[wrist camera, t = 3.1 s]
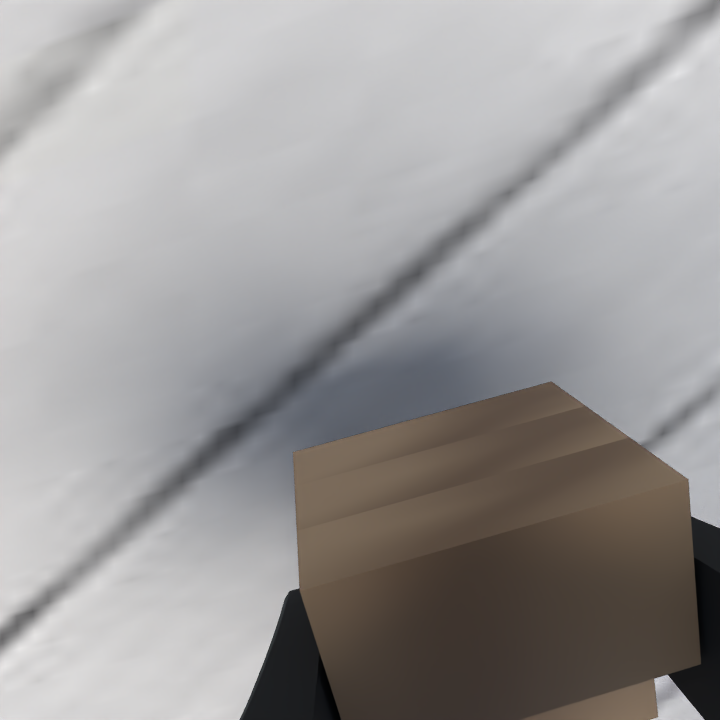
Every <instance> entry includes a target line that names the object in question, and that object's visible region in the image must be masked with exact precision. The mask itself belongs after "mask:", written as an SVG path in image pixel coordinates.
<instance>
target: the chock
mask: <svg viewBox="0 0 720 720" xmlns="http://www.w3.org/2000/svg"><path fill="white" fill-rule="evenodd" d="M293 463H294V483H295V504H296V524H297V545H298V565H299V586H300V593H301V596H302V600H303V603H304V606H305V609H306V612H307V615H308V618H309V621H310V624H311V627H312V631H313V634H314V637H315V640H316V643H317V646H318V649H319V652H320V655H321V659H322V662H323V665H324V668H325V671H326V674H327V677H328V680H329V683H330V687H331V690H332V693H333V696H334V699H335V702H336V705H337V708H338V711H339V714H340V718H341V720H650V719H653V718H657V717H658V712H657V702H656V693H655V683H654V678H658V677H661V676H664V675H668V674H671V673H674V672H677V671H681V670H684V669H687V668H690V667H694V666H697V665H700V664H701V655H700V641H699V627H698V612H697V598H696V583H695V569H694V555H693V540H692V526H691V512H690V497H689V483H688V479H687V478H685V477H684V476H683V475H681V474H680V473H678V472H677V471H676V470H674V469H673V468H671V467H670V466H669V465H667V464H666V463H665V462H663V461H662V460H660V459H659V458H658V457H656V456H655V455H653V454H652V453H651V452H649V451H648V450H646V449H645V448H644V447H642V446H641V445H639V444H638V443H637V442H635V441H634V440H632V439H631V438H630V437H628V436H627V435H625V434H624V433H623V432H621V431H620V430H618V429H617V428H616V427H614V426H613V425H611V424H610V423H609V422H607V421H606V420H604V419H603V418H602V417H600V416H599V415H597V414H596V413H595V412H593V411H592V410H590V409H589V408H588V407H586V406H585V405H583V404H582V403H581V402H579V401H578V400H576V399H575V398H574V397H572V396H571V395H569V394H568V393H567V392H565V391H564V390H562V389H561V388H560V387H558V386H557V385H555V384H554V383H553V382H548V383H544V384H540V385H537V386H533V387H530V388H526V389H522V390H519V391H515V392H511V393H508V394H504V395H500V396H497V397H493V398H489V399H486V400H482V401H478V402H475V403H471V404H467V405H464V406H460V407H456V408H453V409H449V410H445V411H442V412H438V413H434V414H431V415H427V416H423V417H420V418H416V419H412V420H409V421H405V422H401V423H398V424H394V425H390V426H387V427H383V428H380V429H376V430H372V431H369V432H365V433H361V434H358V435H354V436H350V437H347V438H343V439H339V440H336V441H332V442H328V443H325V444H321V445H317V446H314V447H310V448H306V449H303V450H299V451H295V452H293Z"/></svg>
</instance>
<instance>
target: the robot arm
mask: <svg viewBox="0 0 720 720" xmlns="http://www.w3.org/2000/svg"><path fill="white" fill-rule="evenodd" d="M691 526H692V540H693V555H694V569H695V583H696V598H697V612H698V627H699V641H700V655H701V664H700V665H697V666H694V667H690V668H687V669H684V670H681V671H677V672H674V673H671V674H668V675H669V677H670V678H671V679H672V680H673V682H674V683H675V684H676V685H677V687H678V688H679V689H680V690H681V691H682V693H683V694H684V695H685V696H686V698H687V699H688V700H689V701H690V702H691V704H692V705H693V706H694V707H695V708H696V710H697V711H698V712H699V713H700V715H701V716H702V717H703V718H704V719H705V720H720V528H717V527H715V526H713V525H710V524H708V523H705V522H703V521H701V520H698V519H696V518H694V517H691ZM240 720H341V718H340V714H339V711H338V708H337V705H336V702H335V699H334V696H333V693H332V690H331V687H330V683H329V680H328V677H327V674H326V671H325V668H324V665H323V662H322V659H321V655H320V652H319V649H318V646H317V643H316V640H315V637H314V634H313V631H312V627H311V624H310V621H309V618H308V615H307V612H306V609H305V606H304V603H303V600H302V596H301V593H300V588H299V589H296V590H292V591H290V592H289V593H288V595H287V596H286V598H285V600H284V604H283V607H282V611H281V614H280V617H279V621H278V624H277V627H276V630H275V633H274V636H273V638H272V641H271V644H270V647H269V650H268V652H267V655H266V658H265V660H264V663H263V665H262V668H261V671H260V673H259V676H258V678H257V681H256V683H255V686H254V688H253V691H252V693H251V696H250V698H249V700H248V703H247V705H246V707H245V709H244V712H243V714H242V716H241V718H240Z"/></svg>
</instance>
